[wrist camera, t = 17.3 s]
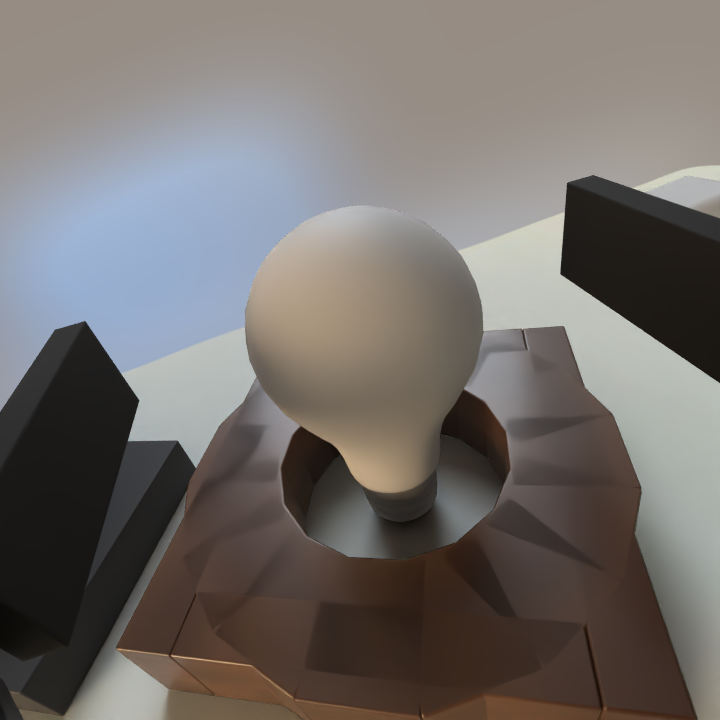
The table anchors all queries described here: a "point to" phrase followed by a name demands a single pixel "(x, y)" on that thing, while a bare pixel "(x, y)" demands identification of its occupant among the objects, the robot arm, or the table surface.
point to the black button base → (107, 573)
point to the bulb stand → (423, 572)
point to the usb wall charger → (692, 194)
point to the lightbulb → (368, 344)
